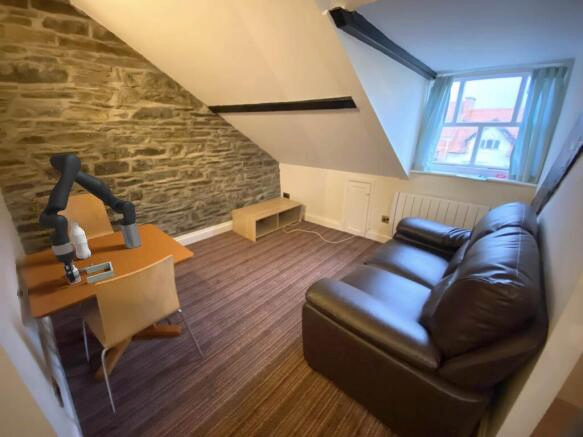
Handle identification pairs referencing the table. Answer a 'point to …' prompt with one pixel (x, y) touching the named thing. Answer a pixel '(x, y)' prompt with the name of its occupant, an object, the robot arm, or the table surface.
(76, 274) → the pill bottle
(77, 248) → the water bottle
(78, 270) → the bar
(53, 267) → the table surface
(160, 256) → the table surface
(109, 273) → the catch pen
